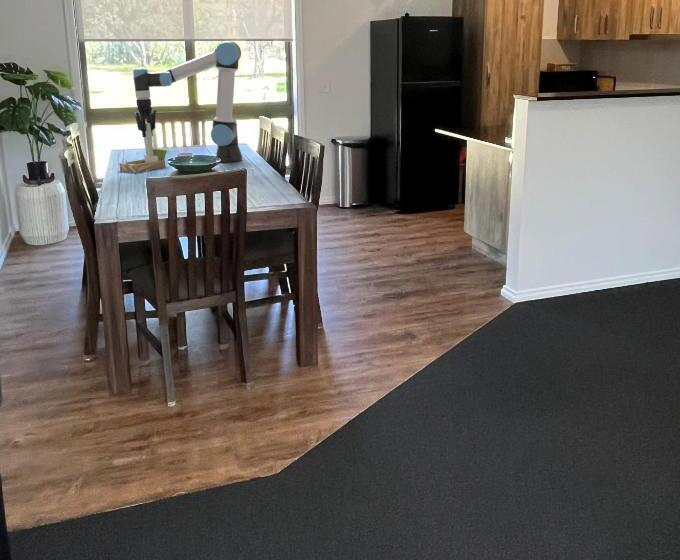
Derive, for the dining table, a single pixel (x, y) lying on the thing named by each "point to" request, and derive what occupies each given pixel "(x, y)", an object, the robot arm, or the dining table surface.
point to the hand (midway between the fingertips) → (148, 142)
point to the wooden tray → (141, 165)
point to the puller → (149, 147)
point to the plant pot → (160, 154)
